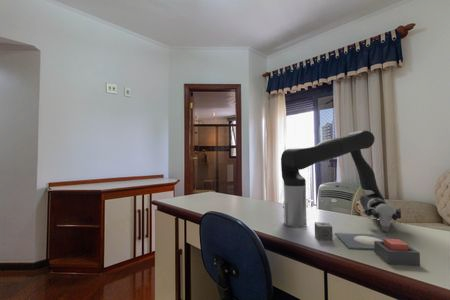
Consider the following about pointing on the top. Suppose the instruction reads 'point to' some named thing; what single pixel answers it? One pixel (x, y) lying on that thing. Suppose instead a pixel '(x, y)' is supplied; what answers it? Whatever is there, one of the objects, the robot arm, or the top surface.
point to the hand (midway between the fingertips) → (386, 216)
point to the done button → (395, 244)
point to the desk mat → (361, 240)
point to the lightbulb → (385, 215)
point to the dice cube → (323, 231)
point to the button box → (397, 255)
